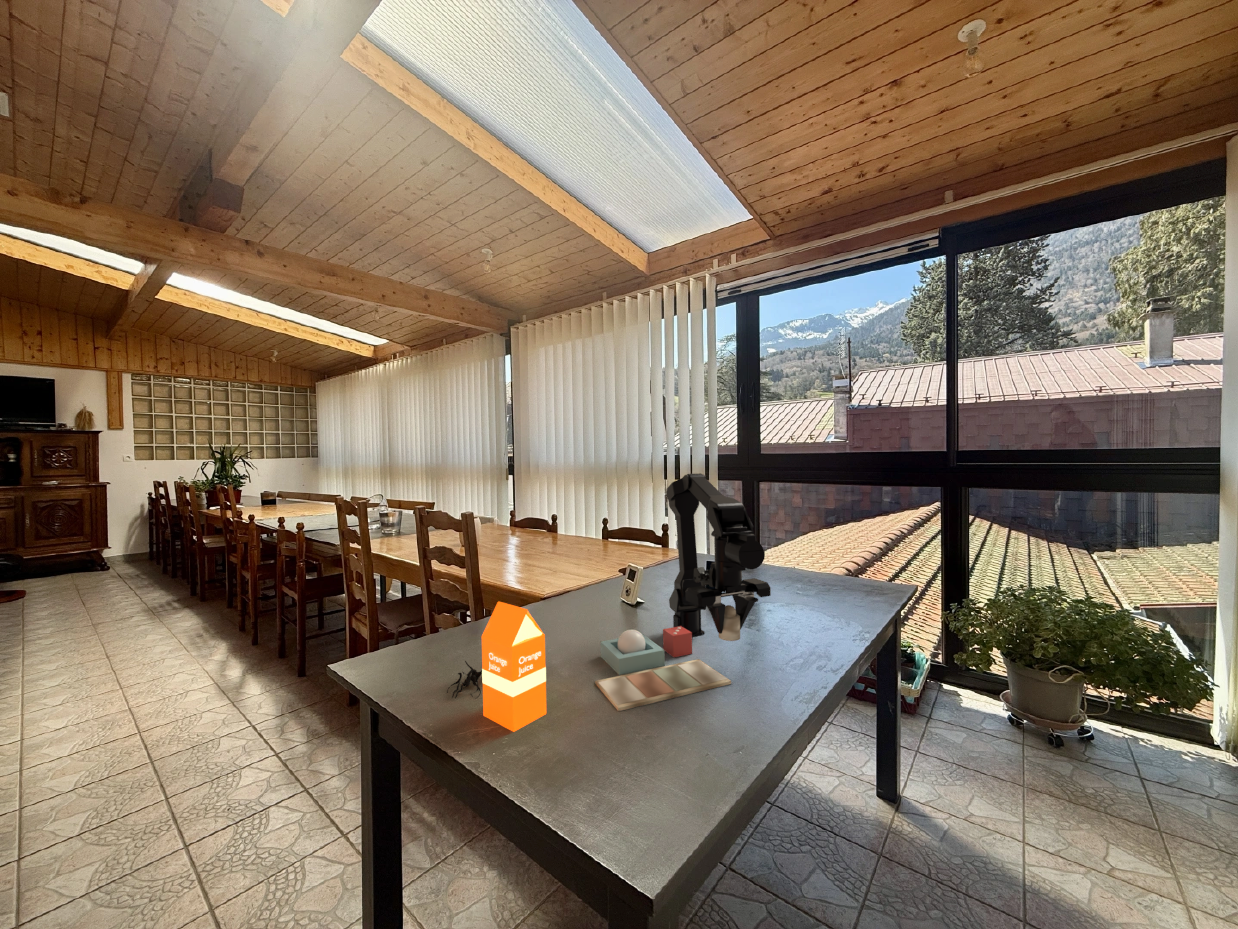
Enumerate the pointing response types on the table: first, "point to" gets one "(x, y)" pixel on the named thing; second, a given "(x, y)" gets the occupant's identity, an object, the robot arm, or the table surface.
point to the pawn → (730, 625)
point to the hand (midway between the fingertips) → (729, 631)
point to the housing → (632, 657)
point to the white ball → (631, 642)
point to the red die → (677, 641)
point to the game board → (660, 684)
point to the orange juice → (513, 668)
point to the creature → (468, 680)
